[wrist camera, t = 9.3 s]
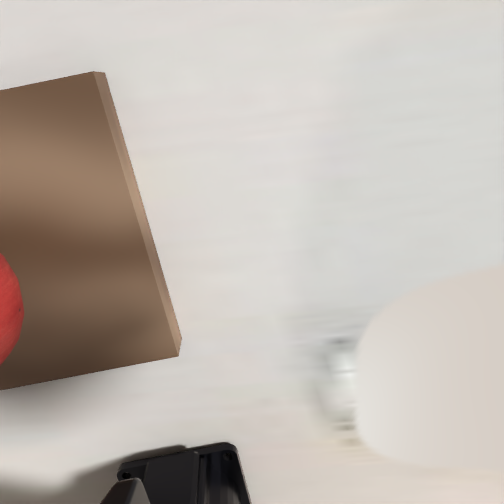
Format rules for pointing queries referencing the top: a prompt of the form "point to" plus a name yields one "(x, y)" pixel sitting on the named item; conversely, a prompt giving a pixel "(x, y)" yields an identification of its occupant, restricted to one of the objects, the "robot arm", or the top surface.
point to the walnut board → (77, 236)
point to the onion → (9, 309)
